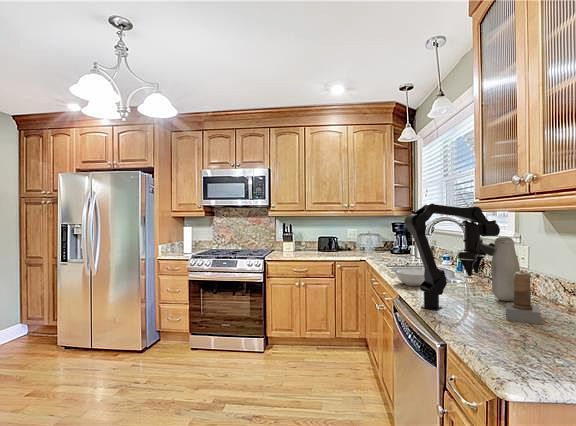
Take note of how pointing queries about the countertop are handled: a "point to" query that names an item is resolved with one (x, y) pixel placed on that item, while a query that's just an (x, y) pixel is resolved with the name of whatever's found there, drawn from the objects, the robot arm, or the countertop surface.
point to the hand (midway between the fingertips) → (473, 274)
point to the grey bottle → (504, 269)
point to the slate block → (523, 314)
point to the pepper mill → (522, 290)
